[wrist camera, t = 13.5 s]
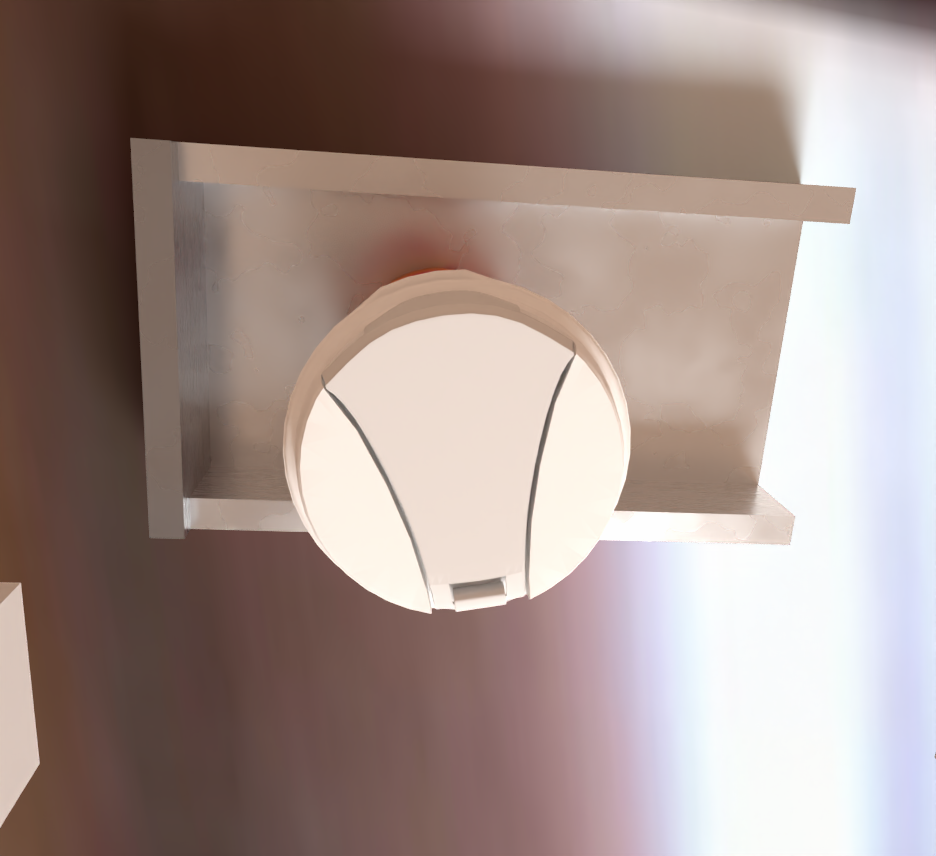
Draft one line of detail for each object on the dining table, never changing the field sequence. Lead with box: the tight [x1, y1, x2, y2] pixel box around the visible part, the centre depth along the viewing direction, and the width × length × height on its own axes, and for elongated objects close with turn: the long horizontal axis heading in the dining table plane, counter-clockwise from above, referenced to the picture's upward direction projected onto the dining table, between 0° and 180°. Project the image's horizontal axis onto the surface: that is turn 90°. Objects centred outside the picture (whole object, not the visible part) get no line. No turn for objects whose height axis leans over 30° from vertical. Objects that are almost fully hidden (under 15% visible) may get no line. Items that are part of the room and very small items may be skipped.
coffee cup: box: [283, 268, 631, 614], centre depth 25 cm, size 8×8×15 cm
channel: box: [130, 138, 856, 545], centre depth 31 cm, size 24×13×5 cm, turn 86°
